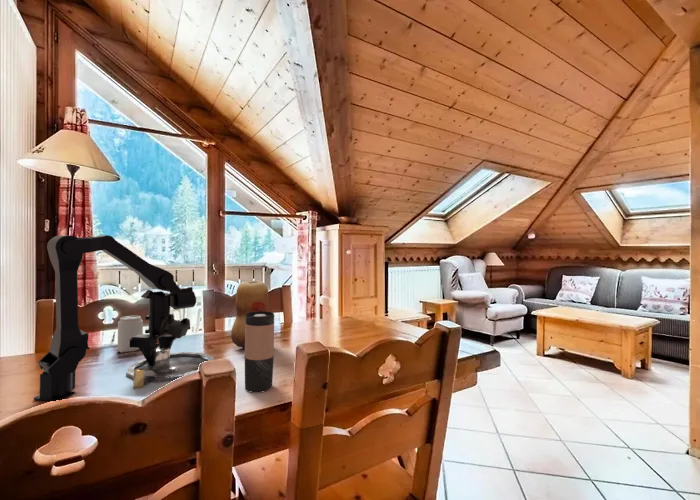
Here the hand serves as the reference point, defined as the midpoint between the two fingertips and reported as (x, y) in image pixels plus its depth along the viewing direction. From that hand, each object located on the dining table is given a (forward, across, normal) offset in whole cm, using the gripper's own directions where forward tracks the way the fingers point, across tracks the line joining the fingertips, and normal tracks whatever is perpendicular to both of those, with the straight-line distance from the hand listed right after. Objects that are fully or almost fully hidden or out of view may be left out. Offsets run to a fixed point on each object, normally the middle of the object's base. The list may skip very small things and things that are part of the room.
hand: (158, 362), depth 107 cm
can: (+2, +15, +20) cm, 25 cm away
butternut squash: (+2, +25, -20) cm, 32 cm away
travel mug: (+2, -9, -34) cm, 36 cm away
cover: (+1, 0, 0) cm, 1 cm away
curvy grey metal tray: (+2, -2, -4) cm, 5 cm away
